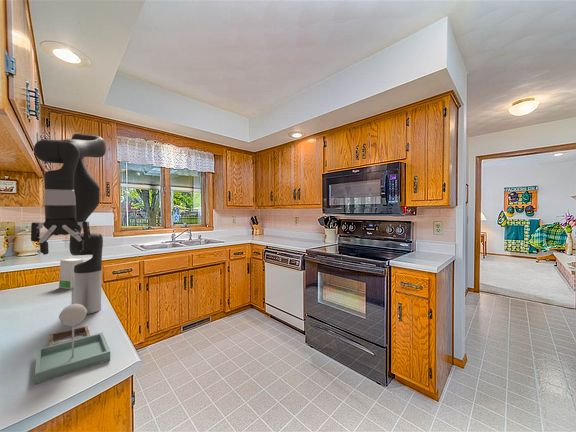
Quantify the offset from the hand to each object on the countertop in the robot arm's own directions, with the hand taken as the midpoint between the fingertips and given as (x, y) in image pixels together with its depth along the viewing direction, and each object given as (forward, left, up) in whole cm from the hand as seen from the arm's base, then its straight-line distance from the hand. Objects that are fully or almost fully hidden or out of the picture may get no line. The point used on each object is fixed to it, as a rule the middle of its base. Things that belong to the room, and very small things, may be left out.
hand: (62, 253), depth 81 cm
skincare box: (-56, +49, -29) cm, 80 cm away
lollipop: (+14, -8, -28) cm, 32 cm away
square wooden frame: (+3, 0, -29) cm, 29 cm away
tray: (+14, -8, -29) cm, 33 cm away
